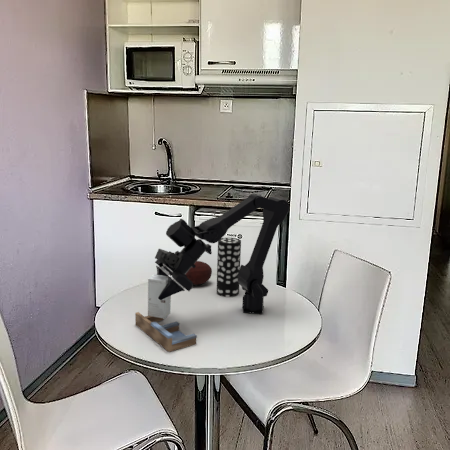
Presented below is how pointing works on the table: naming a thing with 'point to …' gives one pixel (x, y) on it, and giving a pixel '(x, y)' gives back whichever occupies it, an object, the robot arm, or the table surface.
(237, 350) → the table surface
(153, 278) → the skincare box
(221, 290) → the spotted tube
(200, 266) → the potato
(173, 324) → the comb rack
